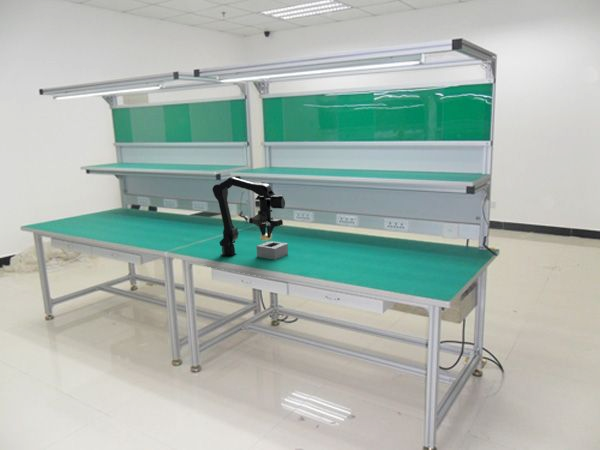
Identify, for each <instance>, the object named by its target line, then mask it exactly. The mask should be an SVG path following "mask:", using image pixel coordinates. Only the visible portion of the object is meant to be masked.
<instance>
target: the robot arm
mask: <svg viewBox="0 0 600 450" xmlns="http://www.w3.org/2000/svg"><path fill="white" fill-rule="evenodd" d="M231 187H238V188H241V189H245V190H248V191H251V192H253V193H255V194H256V195H257V196H256V198H255V199H254V200H255V201H259V210H257V214H256V215H254V216H252V217H249V219H248V223H249V224H253V225H255V227H256V226H257V227H258V229H259V231H260V233H261V235H264V234H268V238H270V236H271V234H273V233H272V232H273V231H274V230H275V228H277V227H279V226H282V225H284V221H283V220H282V219H280V218H276V219H275V218H274V219H273V216H272V213H271V212H273V209H275V210H276V209H277V210H278V209H279V210H282V209H285V206H286V200H285V198H284V195H276V194H275V193H274V191H273V190H272V187H271V186H270V184H269V183H263V182H262V183H261V182H252V181H249V180H245V179H242V178H237V177H234V176H231V177H229V178H227V179H226V180H224V181H222V182H220V183H217V184H215V185H213V187H212V190H211V191H212V193H213V196H214V198H215V199H216V200H217V202H218V205H219V212H220V215H221V220H222V223H223V230H222V239H221V240H220V241H219V245H220V246H219V247H221V253H222V254H220V256H221V257H226V258H231V257H233V256H236V255H237V253H236V249H235V243H236V241H237V240H238V238H239V231H238V227H235V226H234V224H233V221H232V217H231V211H230V207H229V202H228V195H229V189H231ZM266 230H267V232H266Z"/></svg>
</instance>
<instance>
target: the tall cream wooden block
mask: <svg viewBox="0 0 600 450" xmlns="http://www.w3.org/2000/svg"><path fill="white" fill-rule="evenodd" d="M269 240H273V233H271V236H270V238H268V234H267V233H265V234H264V235H262V234H261V235H260V241H263V242H265V241H266V242H267V241H269Z"/></svg>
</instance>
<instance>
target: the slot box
mask: <svg viewBox="0 0 600 450" xmlns="http://www.w3.org/2000/svg"><path fill="white" fill-rule="evenodd" d="M288 255H289V243H286V242H279V241H273V240H270V241H269V240H268V241H266V242H263V243H260V244H258V245H256V256H257V258H261V259H262V258H263V259H268V260H272V261H273V260H274V261H276V260H278V259H281V258H282V257H283V258H284V257H285V256H288Z"/></svg>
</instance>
